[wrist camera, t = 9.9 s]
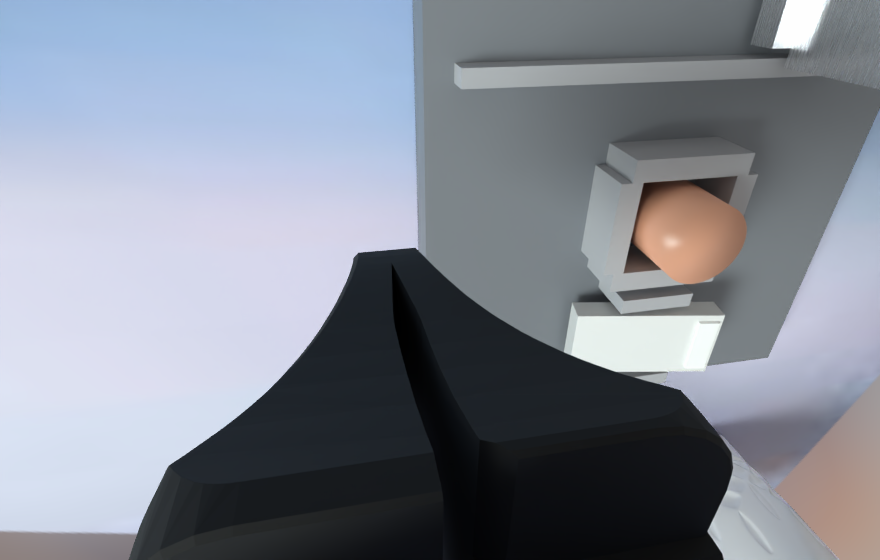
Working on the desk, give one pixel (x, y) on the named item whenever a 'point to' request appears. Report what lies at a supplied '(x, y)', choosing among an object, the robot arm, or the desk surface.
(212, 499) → the robot arm
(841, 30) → the grey boxy piece
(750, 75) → the panel
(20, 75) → the desk surface
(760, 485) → the white cup
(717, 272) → the push button
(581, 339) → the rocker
